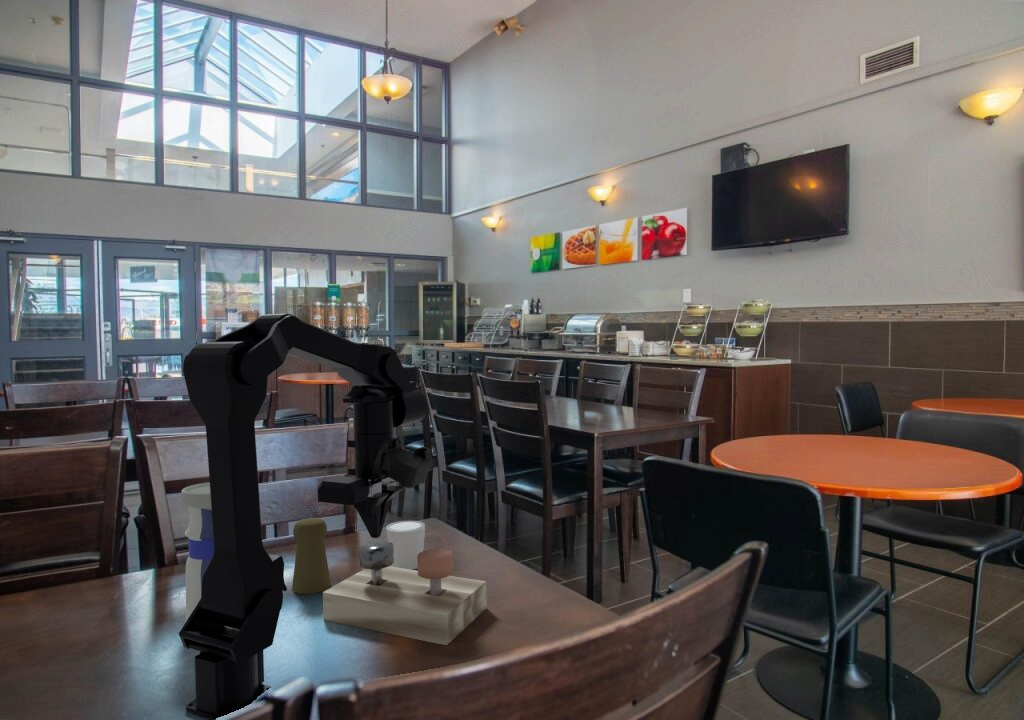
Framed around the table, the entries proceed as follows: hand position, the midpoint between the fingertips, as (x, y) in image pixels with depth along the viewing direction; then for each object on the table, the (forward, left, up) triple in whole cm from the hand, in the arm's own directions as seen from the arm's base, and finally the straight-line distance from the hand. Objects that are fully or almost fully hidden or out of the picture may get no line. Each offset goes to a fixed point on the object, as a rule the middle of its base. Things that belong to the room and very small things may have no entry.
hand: (375, 537), depth 92 cm
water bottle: (-12, +19, -11) cm, 25 cm away
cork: (+3, +15, -11) cm, 19 cm away
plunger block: (0, -5, -11) cm, 12 cm away
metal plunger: (0, 0, -8) cm, 8 cm away
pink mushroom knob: (0, -10, -8) cm, 13 cm away
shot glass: (+17, +6, -11) cm, 21 cm away
